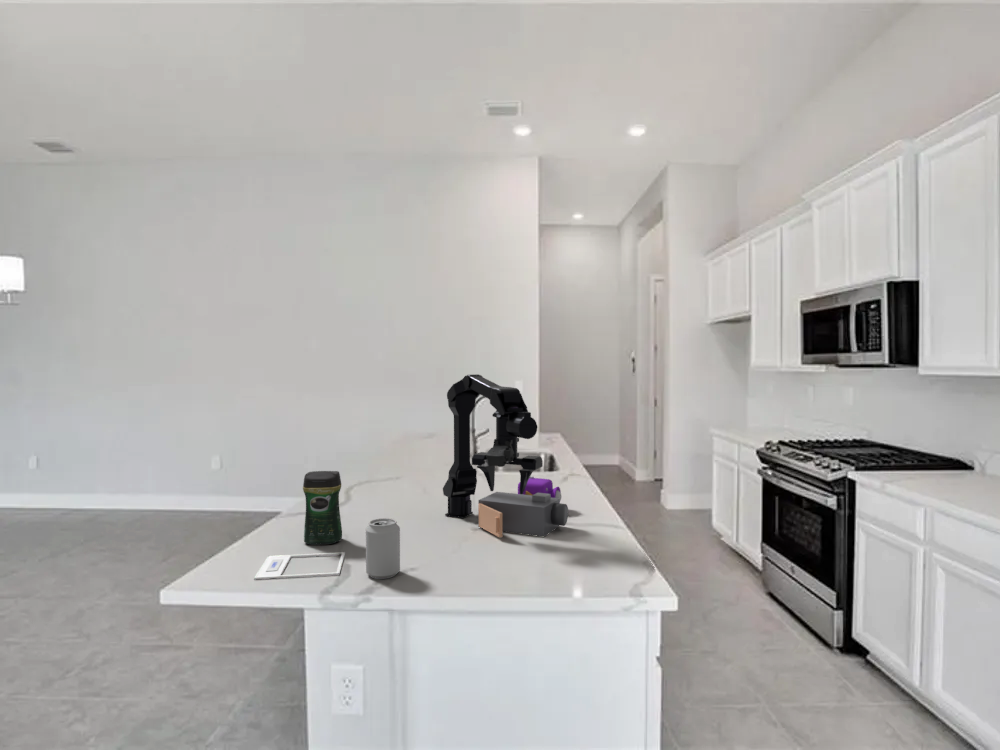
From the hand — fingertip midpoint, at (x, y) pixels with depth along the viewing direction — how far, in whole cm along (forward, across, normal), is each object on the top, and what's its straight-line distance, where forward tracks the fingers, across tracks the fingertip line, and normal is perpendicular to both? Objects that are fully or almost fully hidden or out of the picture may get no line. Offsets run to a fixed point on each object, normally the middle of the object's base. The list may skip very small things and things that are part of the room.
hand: (506, 492), depth 165 cm
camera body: (+12, +1, +10) cm, 16 cm away
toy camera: (+12, -2, +31) cm, 34 cm away
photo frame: (+13, -34, -41) cm, 55 cm away
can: (+12, -14, -37) cm, 42 cm away
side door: (+11, -5, 0) cm, 13 cm away
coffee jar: (+12, -42, -24) cm, 50 cm away
